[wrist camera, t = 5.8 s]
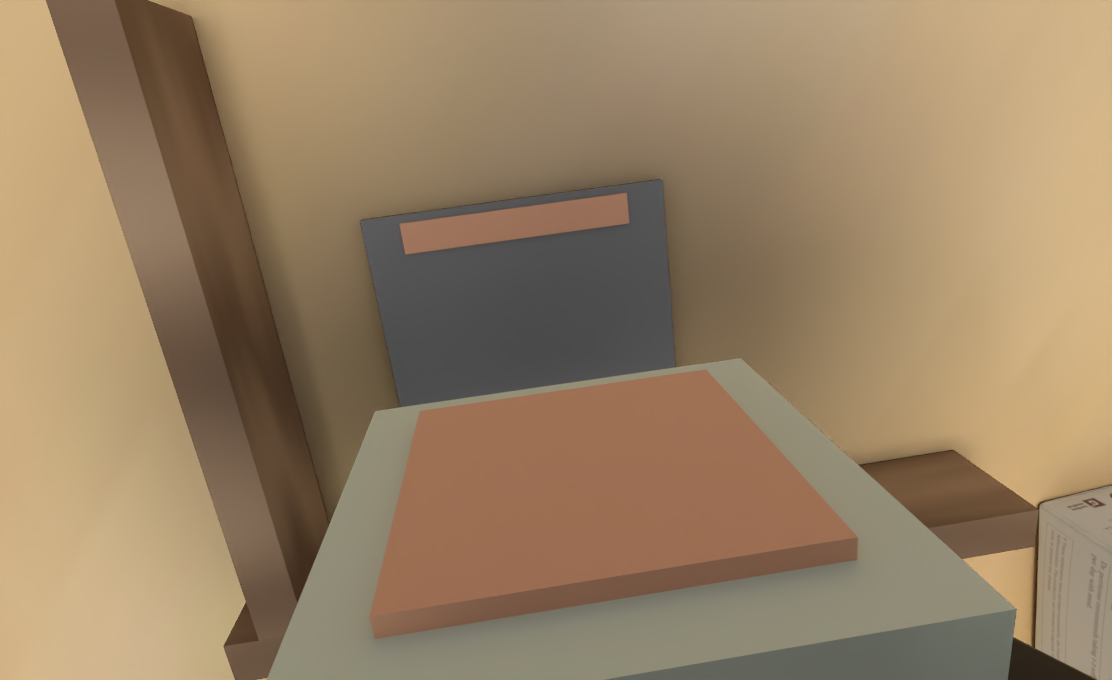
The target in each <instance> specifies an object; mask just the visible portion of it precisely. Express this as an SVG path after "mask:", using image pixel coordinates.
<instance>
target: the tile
mask: <svg viewBox="0 0 1112 680" xmlns="http://www.w3.org/2000/svg"><path fill="white" fill-rule="evenodd" d="M360 224H361V229H362V234H363V238H364V243H365V248H366V252H367V257H368V261H369V266H370V271H371V275H372V280H373V284H374V289H375V294H376V298H377V303H378V307H379V312H380V317H381V321H382V326H383V331H384V335H385V340H386V344H387V349H388V354H389V358H390V363H391V367H392V372H393V377H394V381H395V386H396V390H397V395H398V400H399V404H400V407H406V406H413V405H420V404H427V403H434V402H441V401H448V400H454V399H461V398H468V397H475V396H482V395H489V394H496V393H503V392H510V391H516V390H523V389H530V388H537V387H544V386H551V385H558V384H565V383H572V382H578V381H585V380H592V379H599V378H606V377H613V376H620V375H627V374H634V373H640V372H647V371H654V370H661V369H668V368H675V354H674V339H673V325H672V311H671V296H670V282H669V267H668V253H667V239H666V224H665V210H664V196H663V181H662V180H661V179H657V180H650V181H643V182H635V183H628V184H621V185H613V186H606V187H598V188H591V189H584V190H576V191H569V192H562V193H554V194H547V195H540V196H532V197H525V198H518V199H510V200H503V201H495V202H488V203H481V204H473V205H466V206H459V207H451V208H444V209H437V210H429V211H422V212H414V213H407V214H400V215H392V216H385V217H378V218H370V219H363V220H361V221H360Z"/></svg>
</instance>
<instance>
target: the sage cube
mask: <svg viewBox="0 0 1112 680" xmlns="http://www.w3.org/2000/svg"><path fill="white" fill-rule="evenodd" d="M1016 610H1017V609H1016V608H1015V607H1014V606H1013V605H1012V604H1011V603H1010V602H1008V601H1007V600H1006V599H1005V598H1004V597H1003V596H1002V595H1001V594H1000V593H999V592H997V591H996V590H995V589H994V588H993V587H992V586H991V585H990V584H989V583H988V582H986V581H985V580H984V579H983V578H982V577H981V576H980V575H979V574H978V573H977V572H975V571H974V570H973V569H972V568H971V567H970V566H969V565H968V564H967V563H966V562H964V561H963V560H962V559H961V558H960V557H959V556H958V555H957V554H956V553H955V552H953V551H952V550H951V549H950V548H949V547H948V546H947V545H946V544H945V543H944V542H942V541H941V540H940V539H939V538H938V537H937V536H936V535H935V534H934V533H933V532H931V531H930V530H929V529H928V528H927V527H926V526H925V525H924V524H923V523H922V522H920V521H919V520H918V519H917V518H916V517H915V516H914V515H913V514H912V513H911V512H909V511H908V510H907V509H906V508H905V507H904V506H903V505H902V504H901V503H900V502H898V501H897V500H896V499H895V498H894V497H893V496H892V495H891V494H890V493H889V492H887V491H886V490H885V489H884V488H883V487H882V486H881V485H880V484H879V483H878V482H876V481H875V480H874V479H873V478H872V477H871V476H870V475H869V474H868V473H867V472H865V471H864V470H863V469H862V468H861V467H860V466H859V465H858V464H857V463H856V462H854V461H853V460H852V459H851V458H850V457H849V456H848V455H847V454H846V453H845V452H843V451H842V450H841V449H840V448H839V447H838V446H837V445H836V444H835V443H834V442H832V441H831V440H830V439H829V438H828V437H827V436H826V435H825V434H824V433H823V432H821V431H820V430H819V429H818V428H817V427H816V426H815V425H814V424H813V423H812V422H810V421H809V420H808V419H807V418H806V417H805V416H804V415H803V414H802V413H801V412H799V411H798V410H797V409H796V408H795V407H794V406H793V405H792V404H791V403H790V402H788V401H787V400H786V399H785V398H784V397H783V396H782V395H781V394H780V393H779V392H777V391H776V390H775V389H774V388H773V387H772V386H771V385H770V384H769V383H768V382H766V381H765V380H764V379H763V378H762V377H761V376H760V375H759V374H758V373H757V372H755V371H754V370H753V369H752V368H751V367H750V366H749V365H748V364H747V363H746V362H744V361H743V360H742V359H741V358H737V359H730V360H723V361H716V362H709V363H702V364H695V365H689V366H682V367H675V368H668V369H661V370H654V371H647V372H640V373H634V374H627V375H620V376H613V377H606V378H599V379H592V380H585V381H578V382H572V383H565V384H558V385H551V386H544V387H537V388H530V389H523V390H516V391H510V392H503V393H496V394H489V395H482V396H475V397H468V398H461V399H454V400H448V401H441V402H434V403H427V404H420V405H413V406H406V407H399V408H392V409H386V410H379V411H375V413H374V415H373V418H372V420H371V422H370V425H369V427H368V430H367V432H366V435H365V437H364V440H363V442H362V445H361V447H360V450H359V452H358V455H357V457H356V460H355V462H354V465H353V467H352V470H351V472H350V475H349V477H348V479H347V482H346V484H345V487H344V489H343V492H342V494H341V497H340V499H339V502H338V504H337V507H336V509H335V512H334V514H333V517H332V519H331V522H330V524H329V527H328V529H327V532H326V534H325V536H324V539H323V541H322V544H321V546H320V549H319V551H318V554H317V556H316V559H315V561H314V564H313V566H312V569H311V571H310V574H309V576H308V579H307V581H306V584H305V586H304V589H303V591H302V593H301V596H300V598H299V601H298V603H297V606H296V608H295V611H294V613H293V616H292V618H291V621H290V623H289V626H288V628H287V631H286V633H285V636H284V638H283V641H282V643H281V646H280V648H279V650H278V653H277V655H276V658H275V660H274V663H273V665H272V668H271V670H270V673H269V675H268V678H267V680H1008V673H1009V666H1010V658H1011V650H1012V642H1013V634H1014V626H1015V618H1016Z"/></svg>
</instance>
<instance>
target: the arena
mask: <svg viewBox="0 0 1112 680" xmlns="http://www.w3.org/2000/svg"><path fill="white" fill-rule="evenodd" d="M46 2H47V5H48V8H49V11H50V14H51V17H52V20H53V23H54V26H55V29H56V32H57V35H58V38H59V41H60V44H61V47H62V50H63V53H64V56H65V59H66V62H67V65H68V68H69V71H70V74H71V77H72V80H73V83H74V86H75V89H76V92H77V95H78V98H79V101H80V104H81V107H82V110H83V113H84V116H85V119H86V122H87V125H88V128H89V131H90V134H91V137H92V140H93V143H94V146H95V149H96V152H97V155H98V158H99V161H100V164H101V167H102V170H103V173H104V176H105V179H106V182H107V185H108V188H109V191H110V194H111V197H112V200H113V203H114V206H115V209H116V212H117V215H118V218H119V221H120V224H121V227H122V230H123V233H124V236H125V239H126V242H127V245H128V248H129V251H130V254H131V257H132V260H133V263H134V266H135V269H136V272H137V275H138V278H139V281H140V284H141V288H142V291H143V294H144V297H145V300H146V303H147V306H148V309H149V312H150V315H151V318H152V321H153V324H154V327H155V330H156V333H157V336H158V339H159V342H160V345H161V348H162V351H163V354H164V357H165V360H166V363H167V366H168V369H169V372H170V375H171V378H172V381H173V384H174V387H175V390H176V393H177V396H178V399H179V402H180V405H181V408H182V411H183V414H184V417H185V420H186V423H187V426H188V429H189V432H190V435H191V438H192V441H193V444H194V447H195V450H196V453H197V456H198V459H199V462H200V465H201V468H202V471H203V474H204V477H205V480H206V483H207V486H208V489H209V492H210V495H211V498H212V501H213V504H214V507H215V510H216V513H217V516H218V519H219V522H220V525H221V528H222V531H223V534H224V537H225V540H226V543H227V546H228V549H229V552H230V555H231V558H232V561H233V564H234V567H235V570H236V573H237V576H238V579H239V582H240V585H241V588H242V591H243V594H244V597H245V600H246V603H245V605H244V607H243V609H242V611H241V613H240V615H239V617H238V619H237V621H236V623H235V625H234V627H233V629H232V631H231V633H230V635H229V637H228V639H227V641H226V643H225V645H224V646H223V647H224V650H225V652H226V655H227V658H228V661H229V664H230V666H231V669H232V672H233V675H234V678H235V680H256V679H262V678H268V675H269V673H270V670H271V668H272V665H273V663H274V660H275V658H276V655H277V653H278V650H279V648H280V646H281V643H282V641H283V638H284V636H285V633H286V631H287V628H288V626H289V623H290V621H291V618H292V616H293V613H294V611H295V608H296V606H297V603H298V601H299V598H300V596H301V593H302V591H303V589H304V586H305V584H306V581H307V579H308V576H309V574H310V571H311V569H312V566H313V564H314V561H315V559H316V556H317V554H318V551H319V549H320V546H321V544H322V541H323V539H324V536H325V534H326V532H327V529H328V527H329V523H328V519H327V515H326V512H325V508H324V504H323V501H322V497H321V493H320V489H319V486H318V482H317V478H316V475H315V471H314V467H313V464H312V460H311V456H310V453H309V449H308V445H307V442H306V438H305V434H304V431H303V427H302V423H301V419H300V416H299V412H298V408H297V405H296V401H295V397H294V394H293V390H292V386H291V383H290V379H289V375H288V372H287V368H286V364H285V360H284V357H283V353H282V349H281V346H280V342H279V338H278V335H277V331H276V327H275V324H274V320H273V316H272V313H271V309H270V305H269V302H268V298H267V294H266V290H265V287H264V283H263V279H262V276H261V272H260V268H259V265H258V261H257V257H256V254H255V250H254V246H253V243H252V239H251V235H250V232H249V228H248V224H247V220H246V217H245V213H244V209H243V206H242V202H241V198H240V195H239V191H238V187H237V184H236V180H235V176H234V173H233V169H232V165H231V162H230V158H229V154H228V150H227V147H226V143H225V139H224V136H223V132H222V128H221V125H220V121H219V117H218V114H217V110H216V106H215V103H214V99H213V95H212V92H211V88H210V84H209V80H208V77H207V73H206V69H205V66H204V62H203V58H202V55H201V51H200V47H199V44H198V40H197V36H196V33H195V29H194V25H193V21H192V18H191V16H189V15H186V14H183V13H181V12H178V11H175V10H173V9H170V8H167V7H164V6H162V5H159V4H156V3H153V2H151V1H148V0H46ZM859 466H860V467H861V468H862V469H863V470H864V471H865V472H867V473H868V474H869V475H870V476H871V477H872V478H873V479H874V480H875V481H876V482H878V483H879V484H880V485H881V486H882V487H883V488H884V489H885V490H886V491H887V492H889V493H890V494H891V495H892V496H893V497H894V498H895V499H896V500H897V501H898V502H900V503H901V504H902V505H903V506H904V507H905V508H906V509H907V510H908V511H909V512H911V513H912V514H913V515H914V516H915V517H916V518H917V519H918V520H919V521H920V522H922V523H923V524H924V525H925V526H926V527H927V528H928V529H929V530H930V531H931V532H933V533H934V534H935V535H936V536H937V537H938V538H939V539H940V540H941V541H942V542H944V543H945V544H946V545H947V546H948V547H949V548H950V549H951V550H952V551H953V552H955V553H956V554H957V555H958V556H959V557H960V558H961V559H964V558H970V557H976V556H982V555H988V554H994V553H999V552H1005V551H1011V550H1017V549H1023V548H1029V547H1034V545H1035V537H1036V529H1037V521H1038V513H1039V509H1037V508H1036V507H1034V506H1033V505H1032V504H1030V503H1029V502H1027V501H1026V500H1024V499H1023V498H1022V497H1020V496H1019V495H1017V494H1016V493H1014V492H1013V491H1012V490H1010V489H1009V488H1007V487H1006V486H1004V485H1003V484H1001V483H1000V482H999V481H997V480H996V479H994V478H993V477H991V476H990V475H989V474H987V473H986V472H984V471H983V470H981V469H980V468H979V467H977V466H976V465H974V464H973V463H971V462H970V461H969V460H967V459H966V458H964V457H963V456H961V455H960V454H958V453H957V452H956V451H954V450H952V451H946V452H939V453H933V454H927V455H921V456H915V457H908V458H902V459H896V460H890V461H884V462H878V463H871V464H865V465H859Z"/></svg>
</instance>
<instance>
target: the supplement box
mask: <svg viewBox="0 0 1112 680" xmlns="http://www.w3.org/2000/svg"><path fill="white" fill-rule="evenodd" d="M1035 648H1036V649H1038V650H1040V651H1042V652H1044V653H1046V654H1048V655H1050V656H1052V657H1054V658H1056V659H1058V660H1060V661H1062V662H1064V663H1066V664H1067V665H1069V666H1071V667H1073V668H1075V669H1077V670H1079V671H1081V672H1083V673H1085V674H1087V675H1089V676H1091V677H1093V678H1095V679H1097V680H1112V485H1111V486H1106V487H1102V488H1099V489H1094V490H1090V491H1086V492H1082V493H1078V494H1074V495H1070V496H1066V497H1062V498H1057V499H1054V500H1050V501H1046V502H1044V503H1042V504H1041V505H1040V507H1039V549H1038V577H1037V611H1036V634H1035Z"/></svg>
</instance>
